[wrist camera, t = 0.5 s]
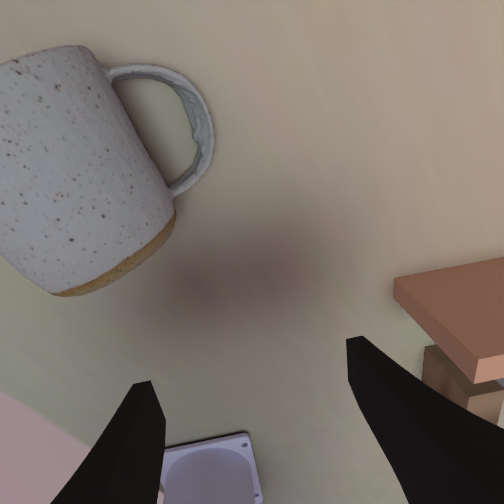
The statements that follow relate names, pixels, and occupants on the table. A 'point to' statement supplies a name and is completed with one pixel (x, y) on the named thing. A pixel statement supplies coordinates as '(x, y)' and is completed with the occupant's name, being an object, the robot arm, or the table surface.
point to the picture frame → (461, 314)
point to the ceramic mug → (84, 170)
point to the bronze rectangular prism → (461, 385)
